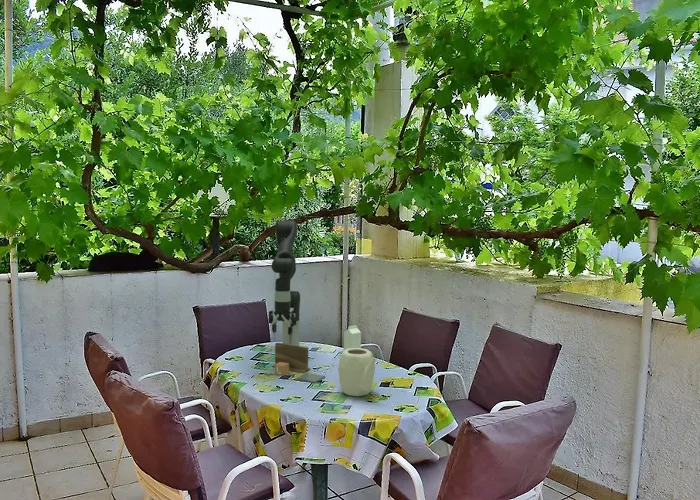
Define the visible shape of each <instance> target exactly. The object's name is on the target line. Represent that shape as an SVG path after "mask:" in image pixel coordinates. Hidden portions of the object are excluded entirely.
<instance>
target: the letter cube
mask: <svg viewBox="0 0 700 500" xmlns="http://www.w3.org/2000/svg"><path fill="white" fill-rule="evenodd" d="M274 365H275V368H274V375H275V376H280V377H284V376H286V375H289V373H290V371H289V363H284V362H279V363H277V364H275V363H274Z"/></svg>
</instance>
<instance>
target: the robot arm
mask: <svg viewBox="0 0 700 500" xmlns="http://www.w3.org/2000/svg"><path fill="white" fill-rule="evenodd" d="M274 230H275V231H274V232H275V237H276V245H277V253H276V255H275V257H274V258H273V259H272V261H271V270H272V271H273V272H274V273H276V274H278V275H279V277H278V278H276V279H275V284H274V288H275V289H274V291H275V292H274V310H273V309H272V310H269V311H268V321H267V323H268V324H271V331H272V333H275V334H276V333H277V323H278V322H282V325H281V326H282V330H281V331H282V334H281V335H282V338H281V343H283V344H290V345H297V346H300V339H301V338H300V335H301V334H300V310H301V309H300V308H301V307H300V306H301V293H300V292H299V291H295V290H291V280H292V278H293V277H294V276H295V273H296V271H297V264H296V258H295V255H294V254H293V247H294V244H295V243H296V242H295V241H296V239H297V238H296V237H297V234H298V223H297V222H296V221H295V220H294V219H293V220H292V219H287V220H286V219H282V220H276V221H275V229H274ZM291 309H292V311H291ZM274 316H275V317H274Z"/></svg>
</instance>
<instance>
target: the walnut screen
mask: <svg viewBox="0 0 700 500" xmlns="http://www.w3.org/2000/svg"><path fill="white" fill-rule="evenodd" d="M274 351H275V352H274V364H273V365H272V369H275V364H277V363H279V362H284V363H289V372H295V373H301V374H305V373H308V372H309V371H311V368H310V367H309V346H303V345H299V346H297V345H290V344H283V343H282V342H275V345H274Z"/></svg>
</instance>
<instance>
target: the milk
mask: <svg viewBox="0 0 700 500" xmlns="http://www.w3.org/2000/svg"><path fill="white" fill-rule="evenodd" d="M347 328H348V329H346V330H345V331H344V332H343V351H344V350H346V349H349V348H362V347H361V345H362V343H361V342H362V340H361V339H362V332H361V330H360V329H359V328H358V325H357V324H354V325H349V326H348V327H347Z"/></svg>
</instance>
